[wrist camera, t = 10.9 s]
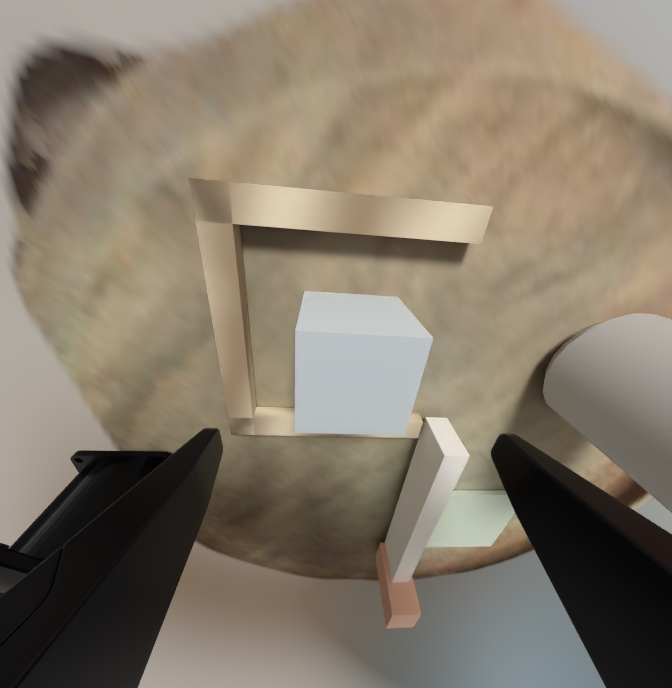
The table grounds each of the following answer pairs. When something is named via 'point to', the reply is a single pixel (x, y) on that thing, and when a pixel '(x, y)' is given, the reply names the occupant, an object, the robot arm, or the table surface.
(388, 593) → the bar
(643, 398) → the can
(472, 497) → the mat
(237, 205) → the wooden u frame
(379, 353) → the block
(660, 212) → the table surface
